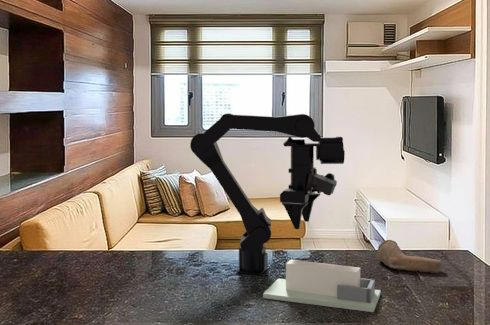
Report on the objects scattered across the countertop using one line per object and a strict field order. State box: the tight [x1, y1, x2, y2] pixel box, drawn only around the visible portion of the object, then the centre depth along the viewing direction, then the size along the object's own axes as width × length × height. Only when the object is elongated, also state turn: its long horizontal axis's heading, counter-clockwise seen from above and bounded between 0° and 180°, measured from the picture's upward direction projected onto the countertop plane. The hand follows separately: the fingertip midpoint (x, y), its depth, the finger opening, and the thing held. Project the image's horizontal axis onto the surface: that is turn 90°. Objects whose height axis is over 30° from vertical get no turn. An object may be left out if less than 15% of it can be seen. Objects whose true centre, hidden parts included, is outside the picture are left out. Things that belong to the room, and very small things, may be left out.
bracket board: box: [262, 277, 381, 313], centre depth 119 cm, size 24×11×4 cm, turn 69°
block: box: [285, 259, 361, 297], centre depth 118 cm, size 16×4×6 cm, turn 65°
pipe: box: [376, 239, 443, 274], centre depth 140 cm, size 6×17×10 cm
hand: (302, 225), depth 136 cm, fingers open, 9 cm apart
